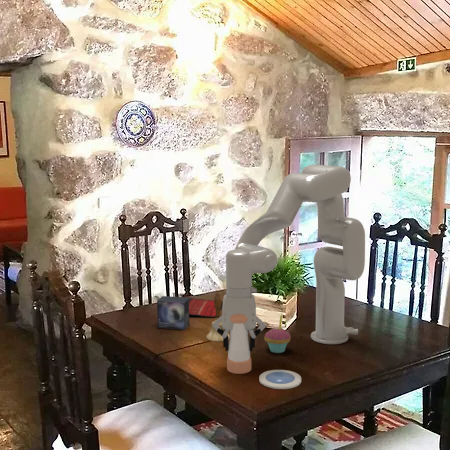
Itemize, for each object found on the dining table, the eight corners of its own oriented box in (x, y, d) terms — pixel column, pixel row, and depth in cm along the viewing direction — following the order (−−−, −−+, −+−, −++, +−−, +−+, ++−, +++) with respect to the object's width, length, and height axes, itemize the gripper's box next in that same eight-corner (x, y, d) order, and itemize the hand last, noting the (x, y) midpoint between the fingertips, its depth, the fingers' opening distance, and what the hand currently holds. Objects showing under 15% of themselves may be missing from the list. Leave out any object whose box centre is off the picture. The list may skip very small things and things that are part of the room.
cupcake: (274, 344, 211) (274, 309, 209) (295, 349, 206) (296, 314, 204) (259, 351, 205) (259, 315, 203) (281, 357, 200) (281, 320, 198)
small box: (156, 328, 228) (155, 300, 226) (162, 322, 234) (161, 295, 233) (184, 330, 226) (184, 302, 224) (190, 324, 232) (189, 297, 230)
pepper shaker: (231, 375, 186) (230, 312, 183) (224, 366, 193) (223, 305, 190) (254, 372, 188) (254, 309, 185) (246, 363, 195) (246, 303, 192)
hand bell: (227, 342, 214) (227, 296, 211) (203, 340, 215) (203, 295, 213) (232, 334, 222) (232, 289, 219) (209, 332, 223) (208, 288, 221)
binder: (175, 312, 241) (185, 297, 261) (175, 318, 241) (185, 302, 262) (216, 315, 239) (224, 300, 259) (216, 321, 239) (224, 305, 260)
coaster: (299, 372, 187) (299, 369, 187) (302, 389, 176) (302, 386, 175) (259, 372, 188) (259, 369, 188) (259, 388, 176) (259, 385, 176)
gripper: (268, 288, 190) (268, 345, 193) (210, 288, 191) (211, 345, 193) (268, 295, 182) (268, 354, 185) (208, 295, 183) (209, 354, 186)
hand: (239, 349), depth 189 cm, fingers closed on pepper shaker, 6 cm apart
